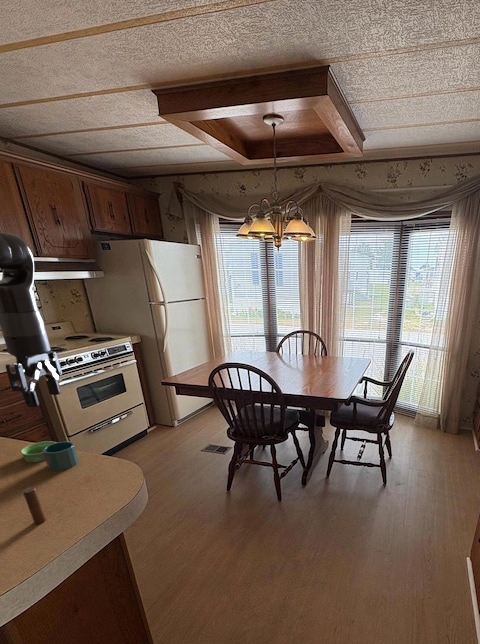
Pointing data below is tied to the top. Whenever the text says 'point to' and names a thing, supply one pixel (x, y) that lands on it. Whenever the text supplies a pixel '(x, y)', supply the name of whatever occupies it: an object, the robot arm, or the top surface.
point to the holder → (60, 456)
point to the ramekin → (35, 451)
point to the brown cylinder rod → (34, 505)
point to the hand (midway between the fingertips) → (45, 400)
